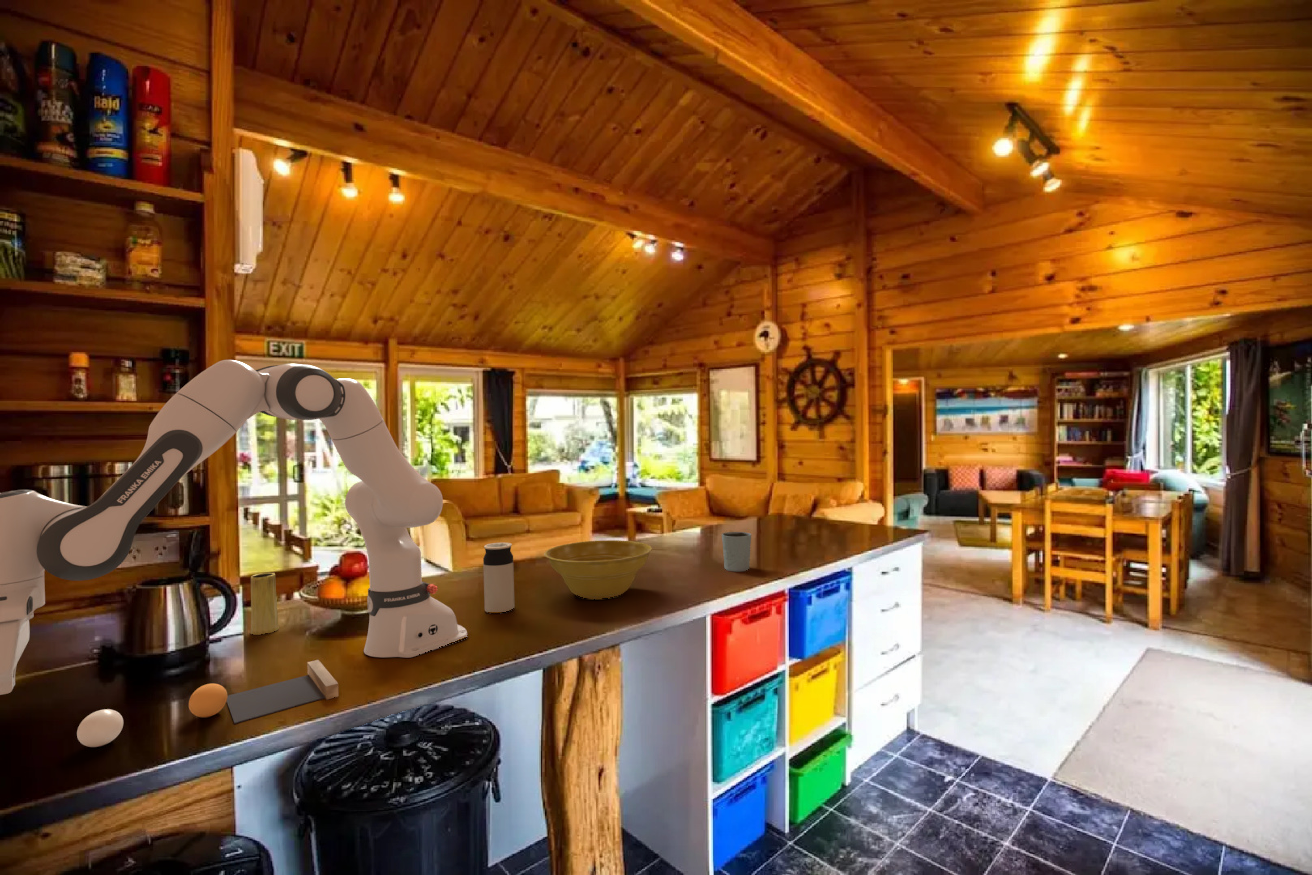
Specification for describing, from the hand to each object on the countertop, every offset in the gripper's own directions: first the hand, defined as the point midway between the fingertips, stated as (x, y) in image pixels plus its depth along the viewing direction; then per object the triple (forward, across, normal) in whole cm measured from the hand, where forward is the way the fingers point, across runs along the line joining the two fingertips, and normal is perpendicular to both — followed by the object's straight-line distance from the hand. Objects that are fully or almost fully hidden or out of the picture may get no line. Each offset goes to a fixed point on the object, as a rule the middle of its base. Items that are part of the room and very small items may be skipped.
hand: (5, 691), depth 89 cm
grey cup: (+10, -4, +171) cm, 172 cm away
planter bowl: (+11, -13, +119) cm, 121 cm away
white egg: (+9, 0, +10) cm, 14 cm away
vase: (+12, -47, +39) cm, 62 cm away
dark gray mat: (+12, 0, +34) cm, 36 cm away
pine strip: (+12, 0, +42) cm, 44 cm away
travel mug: (+11, -20, +90) cm, 93 cm away
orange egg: (+9, 0, +24) cm, 26 cm away
